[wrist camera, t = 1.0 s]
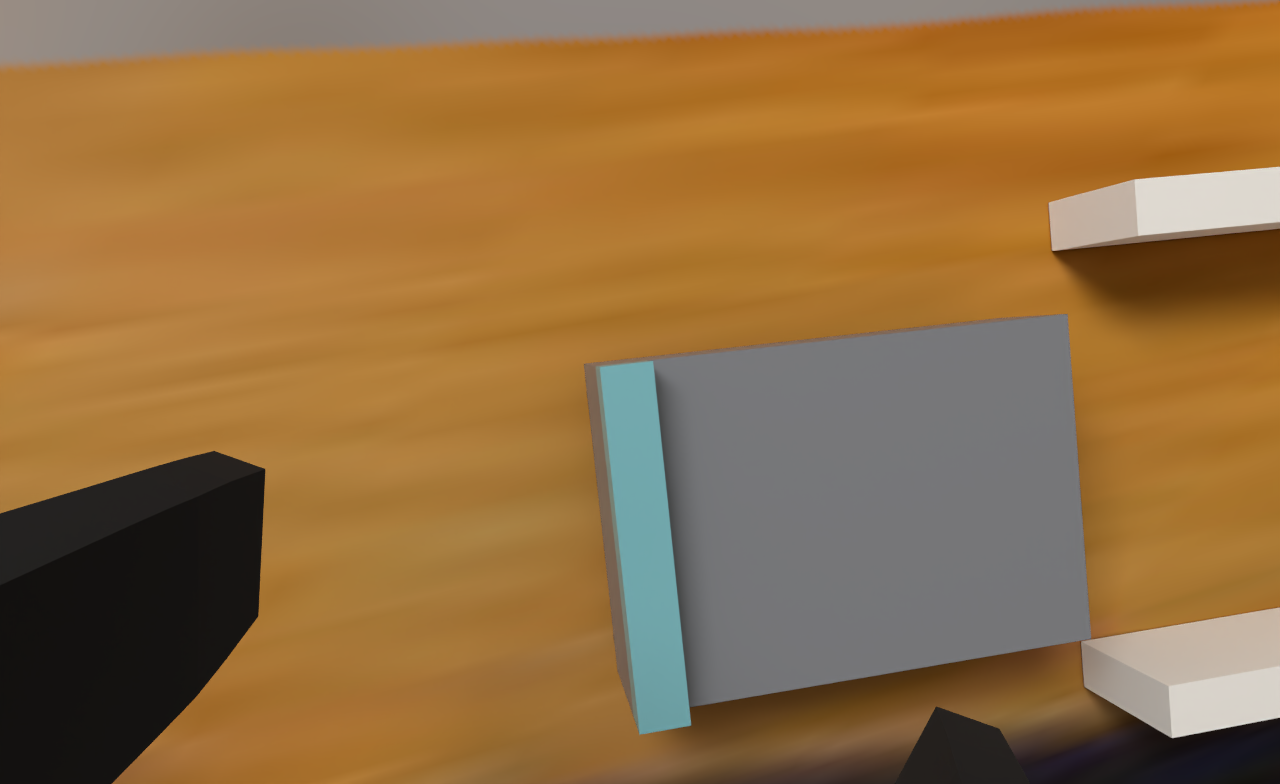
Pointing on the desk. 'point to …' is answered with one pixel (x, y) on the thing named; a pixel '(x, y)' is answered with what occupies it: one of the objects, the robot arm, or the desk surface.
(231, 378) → the desk surface
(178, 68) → the desk surface
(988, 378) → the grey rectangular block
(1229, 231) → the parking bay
